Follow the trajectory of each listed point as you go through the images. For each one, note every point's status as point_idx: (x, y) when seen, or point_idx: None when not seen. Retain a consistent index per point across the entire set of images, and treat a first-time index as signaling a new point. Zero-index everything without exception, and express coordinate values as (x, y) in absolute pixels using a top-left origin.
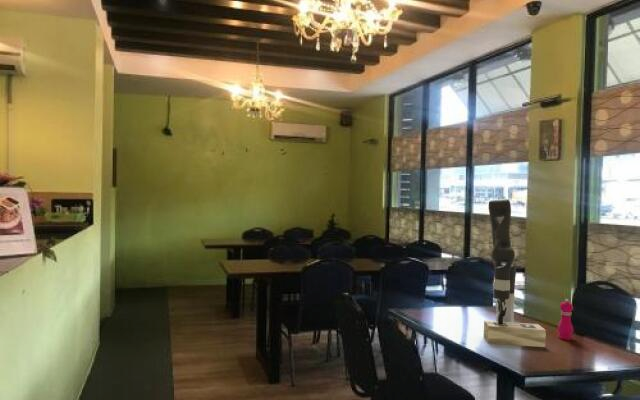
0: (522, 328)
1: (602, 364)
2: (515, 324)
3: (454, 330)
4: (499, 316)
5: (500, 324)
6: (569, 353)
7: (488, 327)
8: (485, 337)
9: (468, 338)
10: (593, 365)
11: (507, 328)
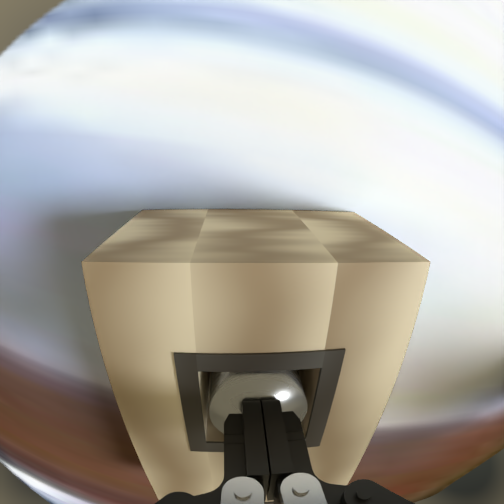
0: (161, 494)
1: (68, 499)
2: None
3: (462, 38)
4: (242, 482)
5: (224, 411)
6: (133, 495)
7: (122, 253)
8: (275, 212)
9: (253, 59)
10: (42, 482)
11: (129, 425)
